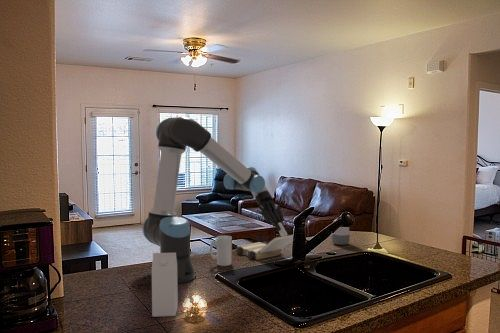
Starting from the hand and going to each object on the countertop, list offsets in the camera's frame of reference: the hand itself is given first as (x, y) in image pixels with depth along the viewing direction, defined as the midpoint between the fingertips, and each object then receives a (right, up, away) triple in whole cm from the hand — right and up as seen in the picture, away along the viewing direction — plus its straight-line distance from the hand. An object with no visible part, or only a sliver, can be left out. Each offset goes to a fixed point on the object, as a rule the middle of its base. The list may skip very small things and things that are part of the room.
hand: (284, 236), depth 183 cm
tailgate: (-6, -8, +8) cm, 13 cm away
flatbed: (-12, -11, +15) cm, 22 cm away
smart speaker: (+32, -10, +33) cm, 48 cm away
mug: (-29, -12, -3) cm, 31 cm away
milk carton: (-42, -15, -54) cm, 70 cm away
